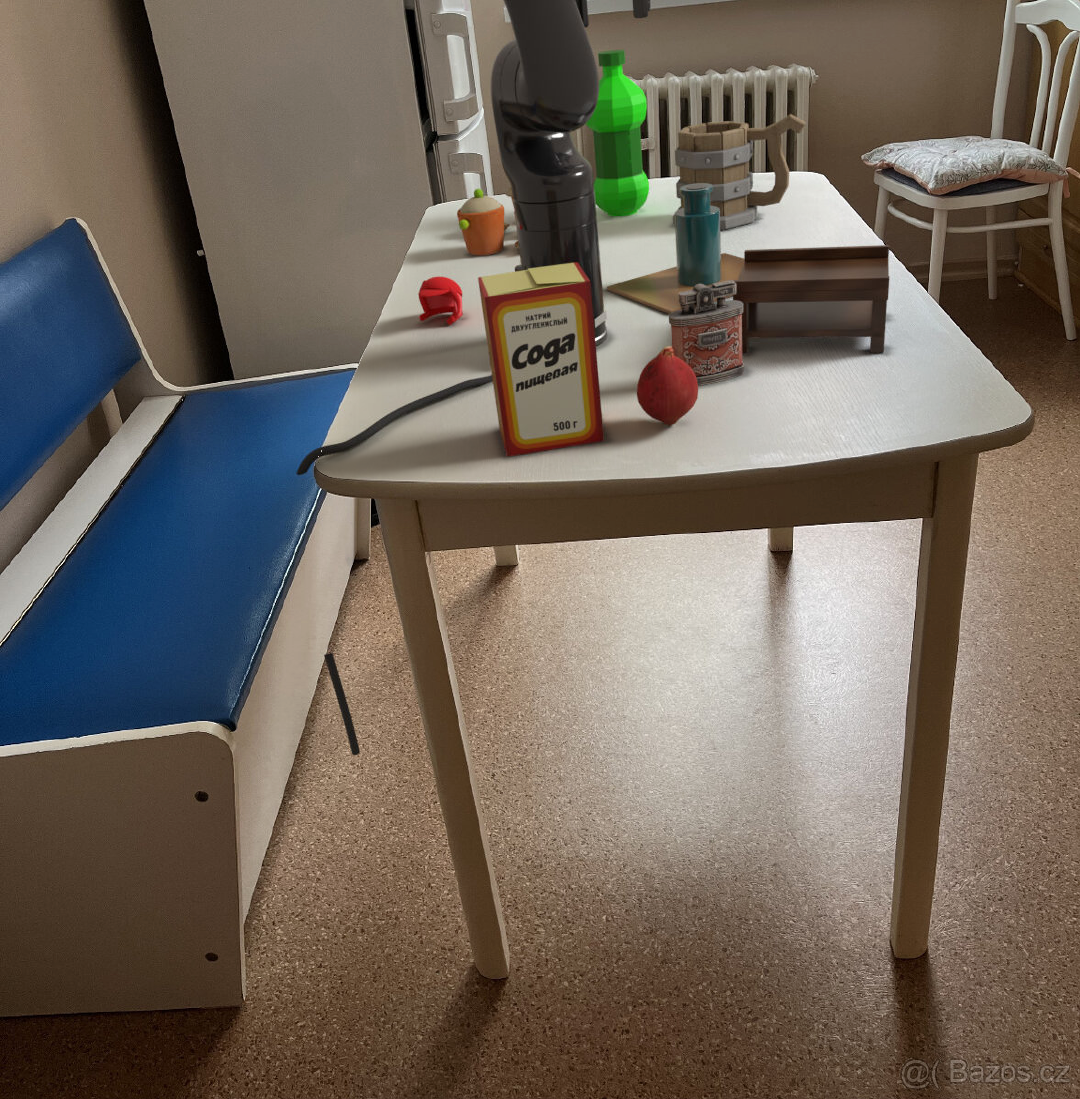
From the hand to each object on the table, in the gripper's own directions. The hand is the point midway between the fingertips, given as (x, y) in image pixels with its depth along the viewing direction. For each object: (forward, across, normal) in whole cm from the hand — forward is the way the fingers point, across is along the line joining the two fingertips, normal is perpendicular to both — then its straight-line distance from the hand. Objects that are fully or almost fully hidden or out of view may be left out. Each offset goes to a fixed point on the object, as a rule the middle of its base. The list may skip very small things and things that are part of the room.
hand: (611, 22), depth 125 cm
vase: (+32, +6, -8) cm, 33 cm away
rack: (+32, +3, -33) cm, 46 cm away
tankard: (+32, +30, +14) cm, 46 cm away
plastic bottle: (+32, +21, +34) cm, 51 cm away
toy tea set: (+32, 0, +36) cm, 49 cm away
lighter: (+32, -13, -35) cm, 49 cm away
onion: (+32, -23, -42) cm, 58 cm away
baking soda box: (+32, -33, -36) cm, 59 cm away
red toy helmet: (+32, -26, +5) cm, 42 cm away
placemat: (+32, +6, -8) cm, 34 cm away
